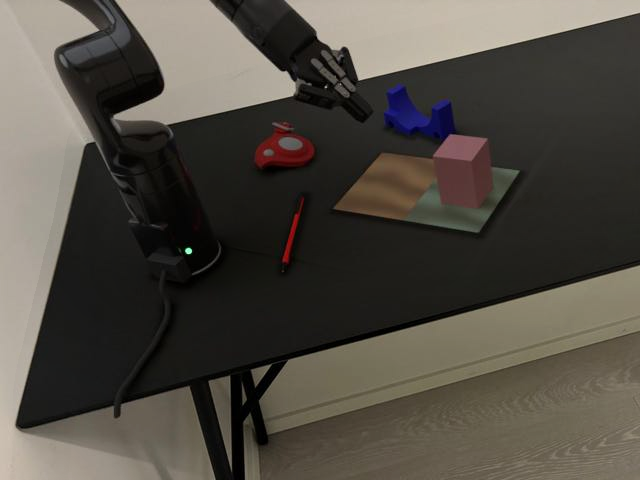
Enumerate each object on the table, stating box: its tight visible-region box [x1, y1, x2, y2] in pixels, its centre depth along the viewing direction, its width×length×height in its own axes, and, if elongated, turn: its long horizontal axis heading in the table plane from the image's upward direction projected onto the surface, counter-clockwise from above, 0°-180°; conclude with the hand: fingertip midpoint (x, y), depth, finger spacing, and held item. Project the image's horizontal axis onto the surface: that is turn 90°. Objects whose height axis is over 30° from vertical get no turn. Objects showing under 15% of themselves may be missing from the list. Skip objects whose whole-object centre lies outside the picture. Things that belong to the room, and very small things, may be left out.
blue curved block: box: [382, 83, 456, 142], centre depth 138 cm, size 12×4×6 cm, turn 47°
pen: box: [281, 195, 305, 273], centre depth 123 cm, size 1×19×1 cm, turn 0°
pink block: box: [432, 134, 494, 209], centre depth 121 cm, size 6×6×8 cm
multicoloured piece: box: [332, 152, 521, 234], centre depth 127 cm, size 16×24×1 cm, turn 65°
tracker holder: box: [253, 121, 315, 171], centre depth 138 cm, size 12×4×10 cm
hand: (368, 117), depth 121 cm, fingers closed
